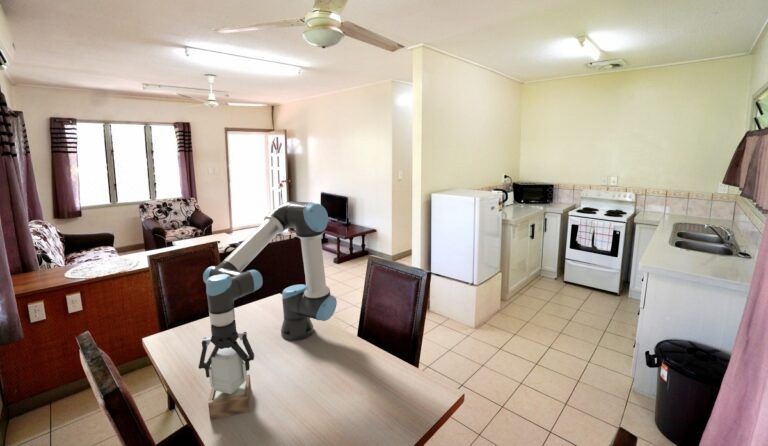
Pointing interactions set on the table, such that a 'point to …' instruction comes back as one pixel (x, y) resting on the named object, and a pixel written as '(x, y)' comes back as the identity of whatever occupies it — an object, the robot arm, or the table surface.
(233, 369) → the supplement box
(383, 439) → the table surface
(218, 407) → the brown square open box
